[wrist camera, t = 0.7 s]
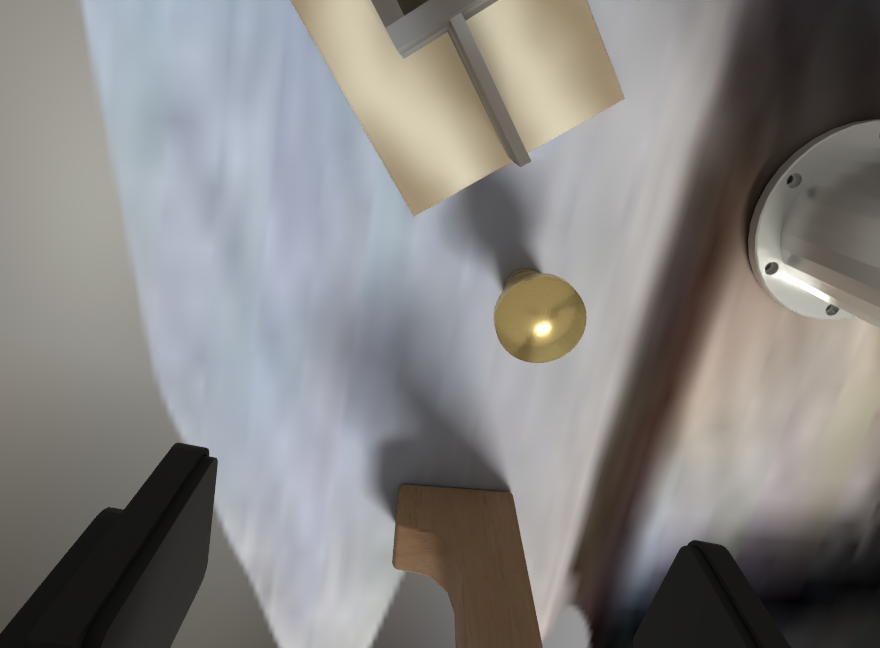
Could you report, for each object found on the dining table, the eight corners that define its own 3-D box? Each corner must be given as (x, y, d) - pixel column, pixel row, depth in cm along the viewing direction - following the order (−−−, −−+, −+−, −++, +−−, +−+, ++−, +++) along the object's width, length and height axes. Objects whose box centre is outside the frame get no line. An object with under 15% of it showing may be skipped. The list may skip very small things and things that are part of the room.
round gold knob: (543, 236, 35) (563, 262, 30) (575, 302, 37) (600, 338, 32) (472, 274, 36) (479, 305, 31) (507, 336, 38) (519, 376, 33)
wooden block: (395, 526, 44) (371, 782, 28) (399, 481, 43) (376, 725, 26) (505, 534, 45) (546, 790, 28) (513, 490, 43) (562, 735, 26)
